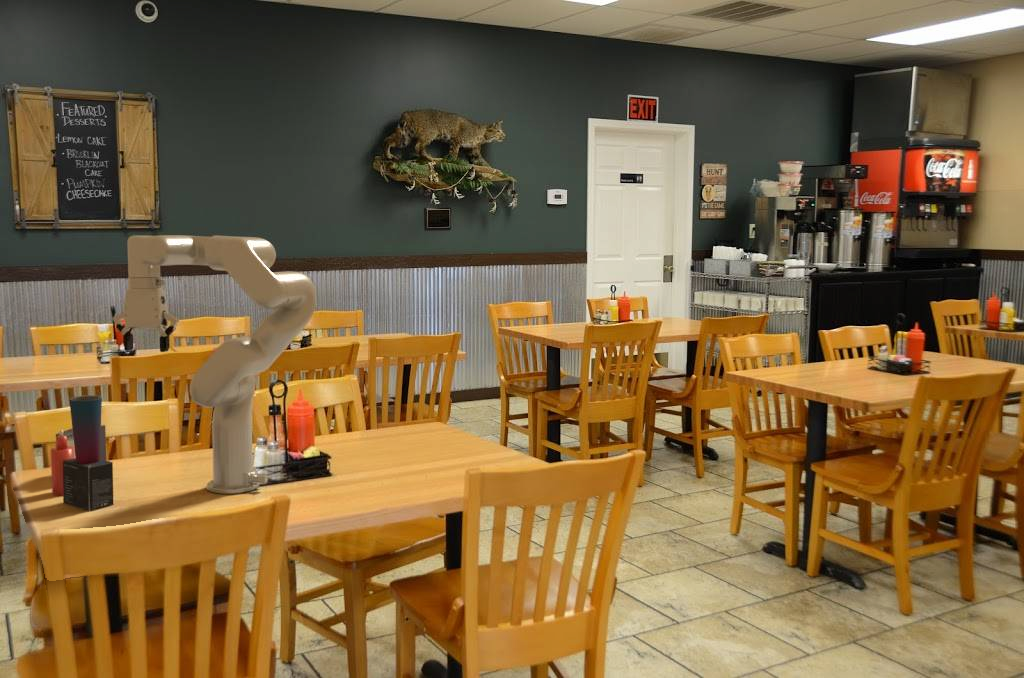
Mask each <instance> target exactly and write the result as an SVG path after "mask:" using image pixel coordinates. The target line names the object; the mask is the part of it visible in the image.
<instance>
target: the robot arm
mask: <svg viewBox="0 0 1024 678" xmlns="http://www.w3.org/2000/svg"><path fill="white" fill-rule="evenodd" d="M276 257H277V252H276V249H275V247H274V245H273V244H272V243H271V242H270V241H268V240H266V239H265V238H262V237H255V236H254V237H252V236H236V235H235V236H230V235H212V236H202V235H196V236H195V235H187V234H186V235H183V234H182V235H181V234H179V235H177V234H176V235H173V234H171V235H170V234H168V235H166V234H165V235H160V234H159V235H131V236H129V237H128V239H127V269H128V270H127V272H128V289H126V292H125V297H124V305H123V306H124V307H123V312H121V313H119V314H117V315H115V316H114V317H113V318H112V320H113V323H114V324H115V325H116V326H115V327H116V329H117V331H119V332H120V334H121V336H122V343H123V347H124V348H123V349H124V351H126V352H127V351H132V350H134V335H133V333H132V332H133V330H134V329H142V330H143V329H145V330H146V329H147V330H148V329H149V330H157V331H158V332H159V334H161V336H159V352H160V353H165V352H168V351H169V349H170V343H171V342H170V336H171V335H172V333H173V332H174V331H176V329H177V326H178V324H179V321H180V320H179V318H177V317H175V316H173V315H172V314H170V313H169V308H168V307H169V306H168V301H167V298H166V297H167V296H166V292H165V289H163V288H162V286H165V285H166V281H165V280H163V279H162V277H161V266H165V267H166V266H185V265H187V266H188V265H192V266H193V265H194V266H207V267H209V268H211V269H212V270H214V271H224V272H227V274H228V275H229V276H230V277H231V278H232V280H233V281H234V282H235V283H236V284H237V285H238V286H239V287H240V288H241V289H242V291H243V293H245V294H246V295H247V297H249V299H250V300H251V301H252V303H254V304H256V305H257V306H258V307H260V308H262V309H267V310H271V309H272V310H273V309H274V310H273V311H271V313H269V314H268V315H267V316H266V317H264V319H263V320H262V321H261V323H259V325H257V327H256V328H255V329H254V330H253V331H252V332H250V333H249V334H247V335H243V336H239V337H238V336H237V337H234V338H230V339H228V340H226V341H224V342H222V343H221V344H220V345H219V346H218V347H216V349H215V350H213V352H212V353H211V354H210V356H208V358H207V359H206V360H205V361H204V362H203V364H202V365H201V366H200V367H199V368H198V369H197V370H196V372H194V374H193V376H192V378H191V380H190V383H189V395H190V397H191V398H192V401H193V402H194V403H195V404H196V405H198V406H200V407H201V408H202V407H203V408H208V409H209V408H211V409H212V408H213V412H212V418H211V419H212V422H211V423H212V424H211V425H212V437H211V438H212V467H213V468H212V475H213V476H212V478H213V479H212V480H209V482H207V483H206V489H207V490H208V491H210V492H211V493H215V494H225V495H226V494H231V495H233V494H240V493H241V494H242V493H246V492H250V491H253V490H255V489H257V488H258V487H259V486H260V484H267V483H268V480H269V479H268V478H269V477H268V475H267V473H258V472H257V467H255V466H253V464H254V463H253V461H254V460H253V406H254V405H253V403H254V397H255V392H256V377H255V375H257V374H260V373H264V372H265V371H267V370H268V369H269V368H270V367H271V366H272V365H273V364H274V363H275V361H276V360H277V359H278V358H279V357H280V356H281V355H282V353H284V351H285V350H286V349H287V348H288V347H289V346H290V344H291V343H292V342H293V341H294V340H295V339H296V337H298V335H299V334H300V333H302V331H303V330H304V329H305V328H306V326H307V325H308V323H309V322H310V320H312V316H313V315H314V313H315V309H316V306H317V305H316V304H317V294H316V292H317V291H316V288H315V286H314V284H313V282H312V280H311V279H310V277H308V276H307V275H305V274H304V273H301V272H299V271H292V270H291V271H289V270H288V271H275V272H274V271H273V272H272V271H271V270H270V269H271V268H272V266H273V265H274V264H275V261H276ZM122 320H123V321H124V323H123V321H122ZM169 322H170V324H169Z"/></svg>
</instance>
